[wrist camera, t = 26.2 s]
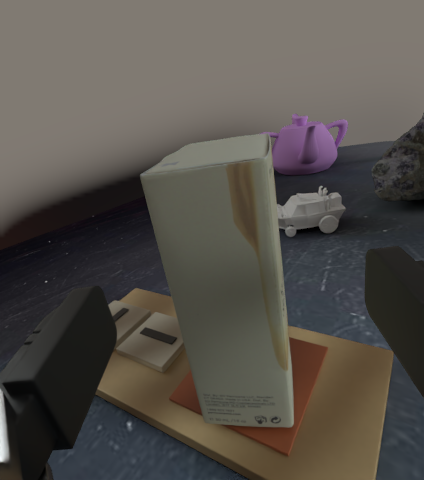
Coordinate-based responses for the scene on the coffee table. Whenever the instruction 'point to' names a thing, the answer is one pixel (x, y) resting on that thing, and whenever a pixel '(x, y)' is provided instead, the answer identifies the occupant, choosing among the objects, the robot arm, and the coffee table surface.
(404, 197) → the mineral rock
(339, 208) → the toy car
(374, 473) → the word board
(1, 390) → the robot arm
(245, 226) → the cosmetic box
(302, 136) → the teapot
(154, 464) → the coffee table surface
